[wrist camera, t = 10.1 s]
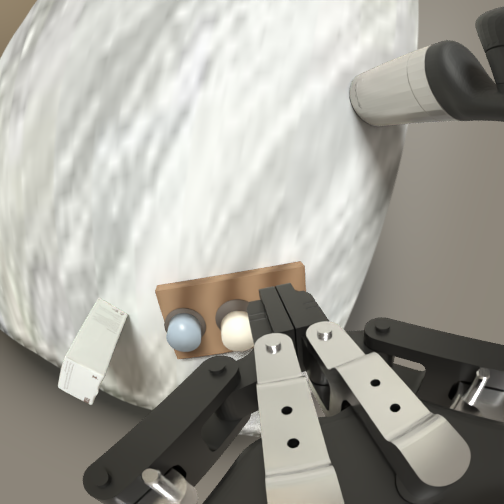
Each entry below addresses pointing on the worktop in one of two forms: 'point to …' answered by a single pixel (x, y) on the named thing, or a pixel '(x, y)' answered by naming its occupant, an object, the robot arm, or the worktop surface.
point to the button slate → (184, 332)
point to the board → (222, 300)
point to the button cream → (236, 331)
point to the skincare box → (92, 351)
